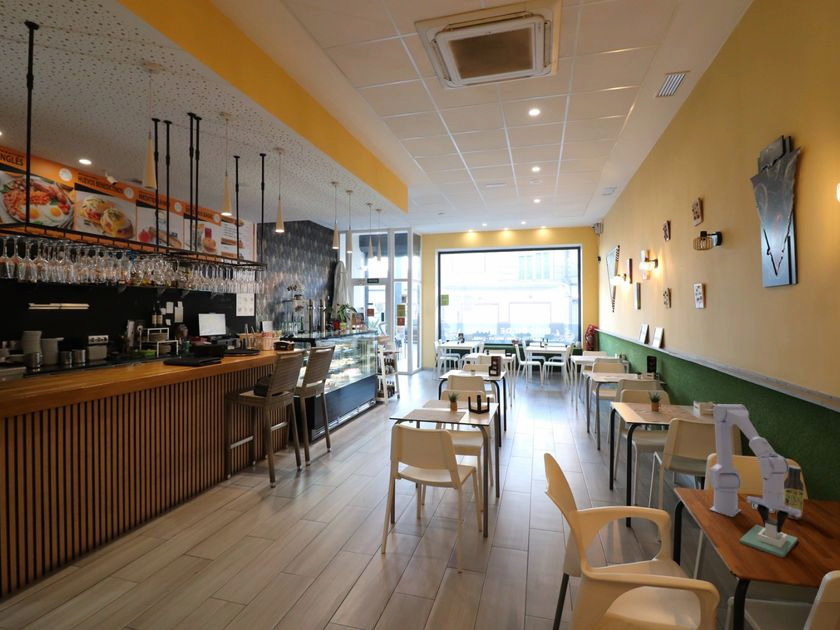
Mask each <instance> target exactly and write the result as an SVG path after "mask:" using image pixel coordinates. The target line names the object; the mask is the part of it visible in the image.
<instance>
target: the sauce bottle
mask: <svg viewBox="0 0 840 630" xmlns="http://www.w3.org/2000/svg"><path fill="white" fill-rule="evenodd" d="M788 465H789V464H788ZM801 473H802V467H799V466H797V465H792V464H791V465H789V470H788V472H787V477H786V479H784V505H787V506H790V507H792V508H795V509H798V510H801V516H800V517H796V516H795V515H791V514H789V515H788V517H787V518H788V519H791V520H798V521H799V520H801V519H802V516H803V511H804V510H803V509H804V495H805V493H804V490H805V489H804V483H803V482H802V480H801Z"/></svg>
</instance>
